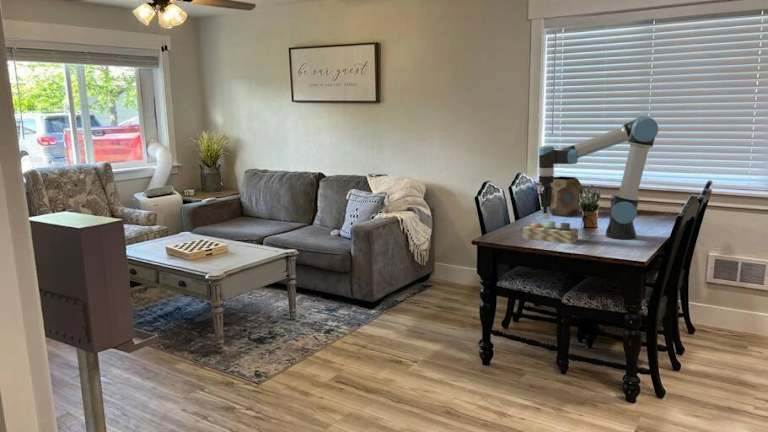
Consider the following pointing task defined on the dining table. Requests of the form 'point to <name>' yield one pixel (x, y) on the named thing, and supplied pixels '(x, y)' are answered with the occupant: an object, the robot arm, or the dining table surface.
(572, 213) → the brown dodecahedron
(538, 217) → the dining table surface
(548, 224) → the button sage
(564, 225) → the button charcoal
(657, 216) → the dining table surface
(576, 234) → the beige woven box
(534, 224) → the button terracotta
